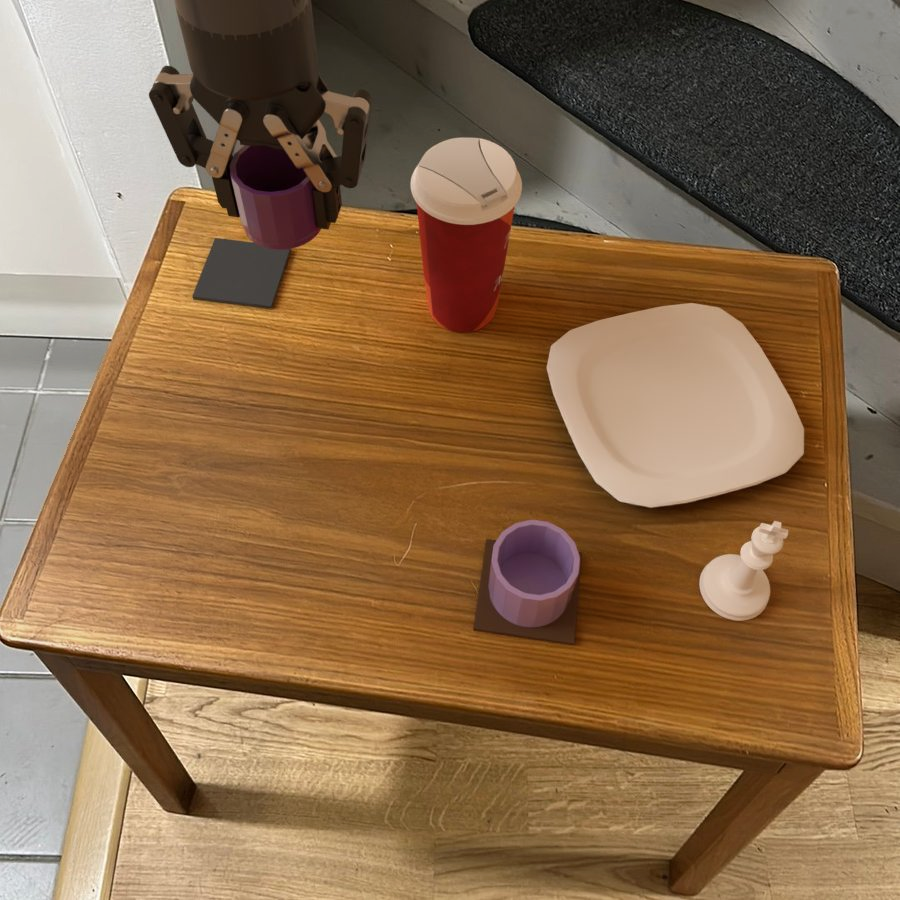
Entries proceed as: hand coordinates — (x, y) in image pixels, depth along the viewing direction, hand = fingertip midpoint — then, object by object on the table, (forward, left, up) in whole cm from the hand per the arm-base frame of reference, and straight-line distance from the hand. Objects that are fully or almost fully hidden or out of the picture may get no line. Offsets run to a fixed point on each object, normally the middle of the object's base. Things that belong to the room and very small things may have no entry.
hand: (281, 214), depth 66 cm
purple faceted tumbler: (0, 0, -1) cm, 1 cm away
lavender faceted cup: (+21, -20, -14) cm, 32 cm away
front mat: (+21, -20, -14) cm, 32 cm away
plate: (+30, -2, -14) cm, 34 cm away
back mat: (-7, +6, -14) cm, 17 cm away
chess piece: (+35, -17, -14) cm, 42 cm away
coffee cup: (+12, +6, -14) cm, 20 cm away
